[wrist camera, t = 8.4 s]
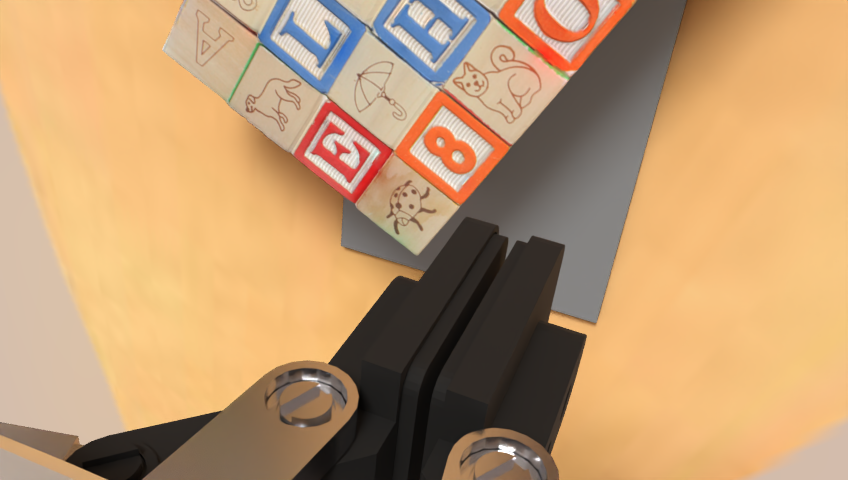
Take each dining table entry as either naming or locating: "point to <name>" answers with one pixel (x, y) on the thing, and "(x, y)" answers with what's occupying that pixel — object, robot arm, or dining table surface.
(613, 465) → the dining table surface
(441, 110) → the stack of blocks
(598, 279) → the mat
